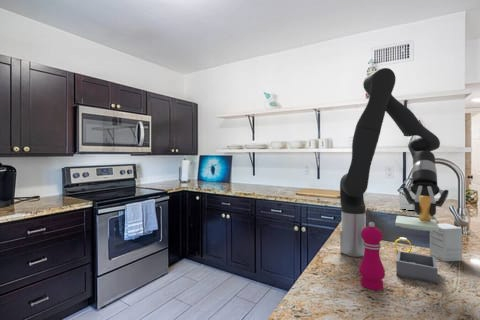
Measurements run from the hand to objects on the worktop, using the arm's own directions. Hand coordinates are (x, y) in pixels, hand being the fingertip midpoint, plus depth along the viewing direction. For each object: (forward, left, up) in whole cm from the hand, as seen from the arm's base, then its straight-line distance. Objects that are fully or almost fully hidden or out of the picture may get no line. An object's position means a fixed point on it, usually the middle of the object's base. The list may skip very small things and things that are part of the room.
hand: (425, 214), depth 86 cm
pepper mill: (-14, -16, -21) cm, 30 cm away
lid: (-3, -1, -4) cm, 5 cm away
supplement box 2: (+7, +23, -21) cm, 32 cm away
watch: (-7, +21, -21) cm, 30 cm away
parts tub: (-3, +1, -21) cm, 21 cm away
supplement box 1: (-7, +117, -21) cm, 119 cm away
